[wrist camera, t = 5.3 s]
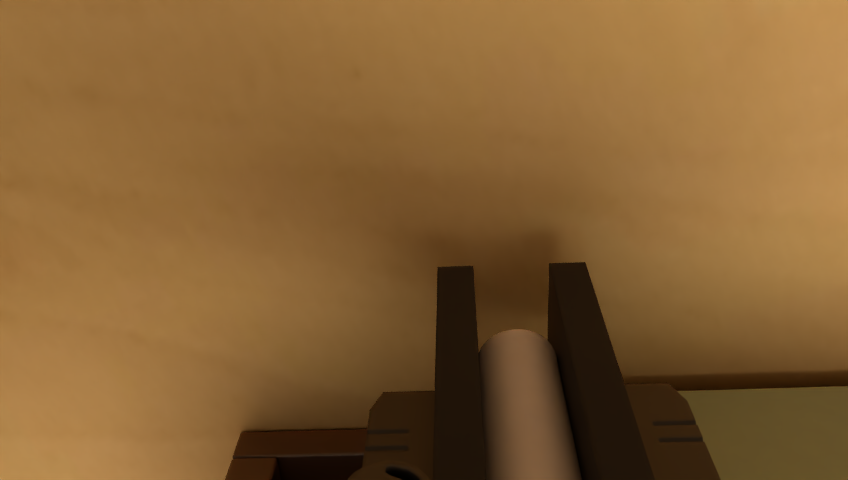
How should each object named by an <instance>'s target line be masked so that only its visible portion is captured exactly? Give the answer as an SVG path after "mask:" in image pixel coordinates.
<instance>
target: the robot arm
mask: <svg viewBox="0 0 848 480" xmlns="http://www.w3.org/2000/svg"><path fill="white" fill-rule="evenodd" d="M548 341H549V343H550V344H551V345H552V347H553V348H554V350H555V353H556V357H557V362H558V366H559V371H560V376H561V381H562V385H563V390H564V395H565V400H566V405H567V409H568V414H569V419H570V424H571V429H572V433H573V438H574V443H575V448H576V452H577V457H578V462H579V467H580V472H581V476H582V480H721V479H720V477H719V474H718V472H717V470H716V467H715V465H714V463H713V460H712V458H711V456H710V453H709V451H708V448H707V446H706V444H705V442H703V437H702V434H701V432H700V429H699V427H698V425H696V420H695V418H694V415H693V413H692V411H691V408H690V406H689V403H688V401H687V400H686V399H685V398H684V397H683V396H682V395H681V394H680V393H678V392H677V391H676V390H675V389H674V388H673V387H672V386H671V385H670V384H669V383H652V384H624V382H623V378H622V375H621V372H620V369H619V366H618V363H617V360H616V357H615V354H614V350H613V347H612V344H611V341H610V338H609V335H608V332H607V329H606V325H605V322H604V319H603V316H602V313H601V310H600V307H599V304H598V300H597V297H596V294H595V291H594V288H593V285H592V282H591V279H590V276H589V272H588V269H587V266H586V263H585V262H579V263H549V297H548ZM347 480H486V470H485V454H484V437H483V420H482V404H481V387H480V370H479V354H478V337H477V320H476V304H475V287H474V270H473V266H455V267H438V271H437V315H436V359H435V391H410V392H383V393H382V395H381V396H380V397H379V399H378V400H377V401H376V403H375V404H374V405H373V407H372V408H371V409H370V412H369V420H368V427H367V434H366V442H365V451H364V457H363V464H362V468H361V469H359V470H357V471H355V472H354V473H353V474H352V475H351V476H350V477H349V478H348V479H347Z"/></svg>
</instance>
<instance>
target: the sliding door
mask: <svg viewBox="0 0 848 480" xmlns="http://www.w3.org/2000/svg"><path fill="white" fill-rule="evenodd" d="M478 354H479V370H480V387H481V404H482V420H483V437H484V454H485V470H486V480H582V476H581V472H580V467H579V462H578V457H577V452H576V448H575V443H574V438H573V433H572V429H571V424H570V419H569V414H568V409H567V405H566V400H565V395H564V390H563V385H562V381H561V376H560V371H559V366H558V362H557V357H556V353H555V350H554V348H553V347H552V345H551V344H550V343H549V341H547V340H546V339H545V338H544V337H543V336H541V335H539V334H537V333H535V332H533V331H529V330H524V329H511V330H506V331H503V332H500V333H498V334H496V335H494V336H492V337H491V338H490V339H488V340H487V341H486V342H485V343H484V345H483V346H482V347H481V349H480V351H479V353H478ZM677 392H678V393H680V394H681V395H682V396H683V397H684V398H685V399H686V400H687V401H688V403H689V406H690V408H691V411H692V413H693V415H694V418H695V420H696V425H698V427H699V429H700V432H701V434H702V437H703V442H705V444H706V446H707V448H708V451H709V453H710V456H711V458H712V460H713V463H714V465H715V467H716V470H717V472H718V474H719V477H720V479H721V480H848V386H830V387H797V388H763V389H729V390H695V391H677Z"/></svg>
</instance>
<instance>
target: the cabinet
mask: <svg viewBox="0 0 848 480" xmlns="http://www.w3.org/2000/svg"><path fill="white" fill-rule="evenodd" d="M366 434H367V429H347V430H311V431H275V432H243V433H241V434H240V437H239V440H238V443H237V446H236V449H235V452H234V455H233V460H232V461H231V464H230V467H229V470H228V473H227V476H226V478H225V480H347V479H348V478H349V477H350V476H351V475H352V474H353V473H354V472H355V471H357V470H359V469H361V468H362V464H363V457H364V451H365V442H366Z"/></svg>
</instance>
